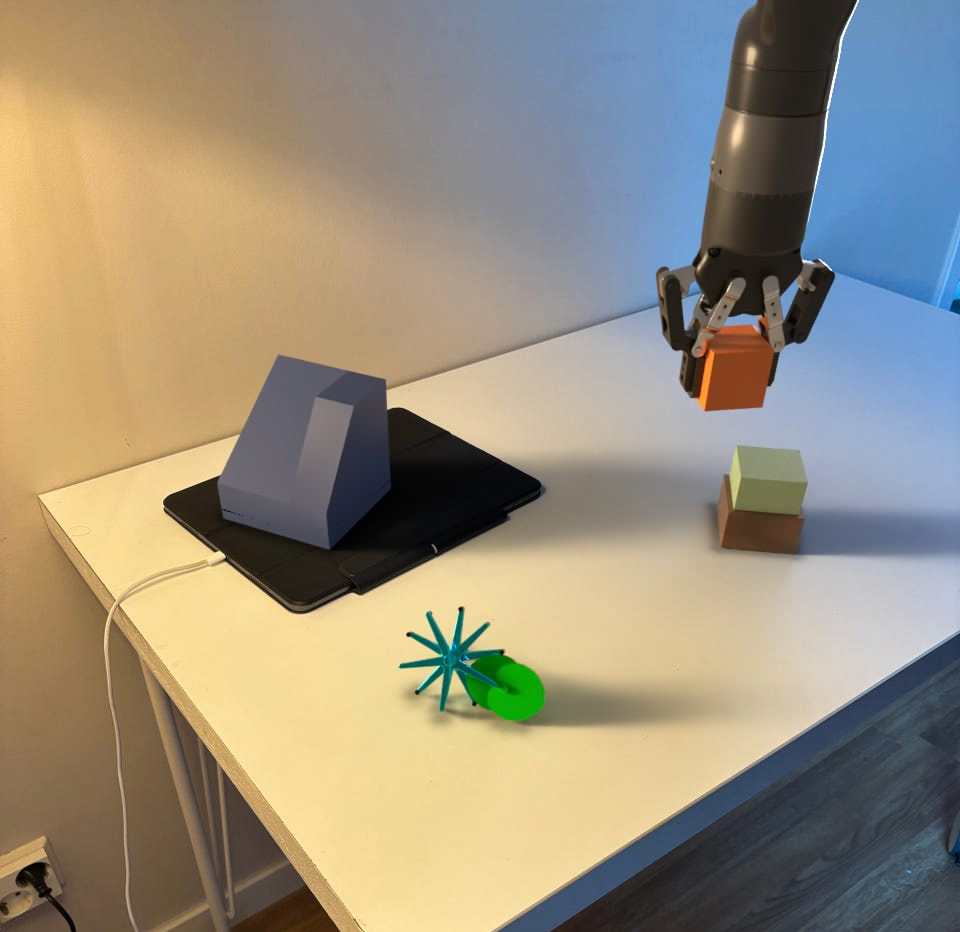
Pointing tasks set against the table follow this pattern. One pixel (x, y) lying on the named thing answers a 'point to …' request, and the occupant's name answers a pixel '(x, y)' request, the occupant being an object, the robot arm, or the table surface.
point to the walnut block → (756, 526)
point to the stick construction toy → (481, 673)
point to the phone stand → (309, 453)
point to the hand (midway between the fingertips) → (724, 391)
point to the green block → (767, 480)
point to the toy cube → (736, 369)
